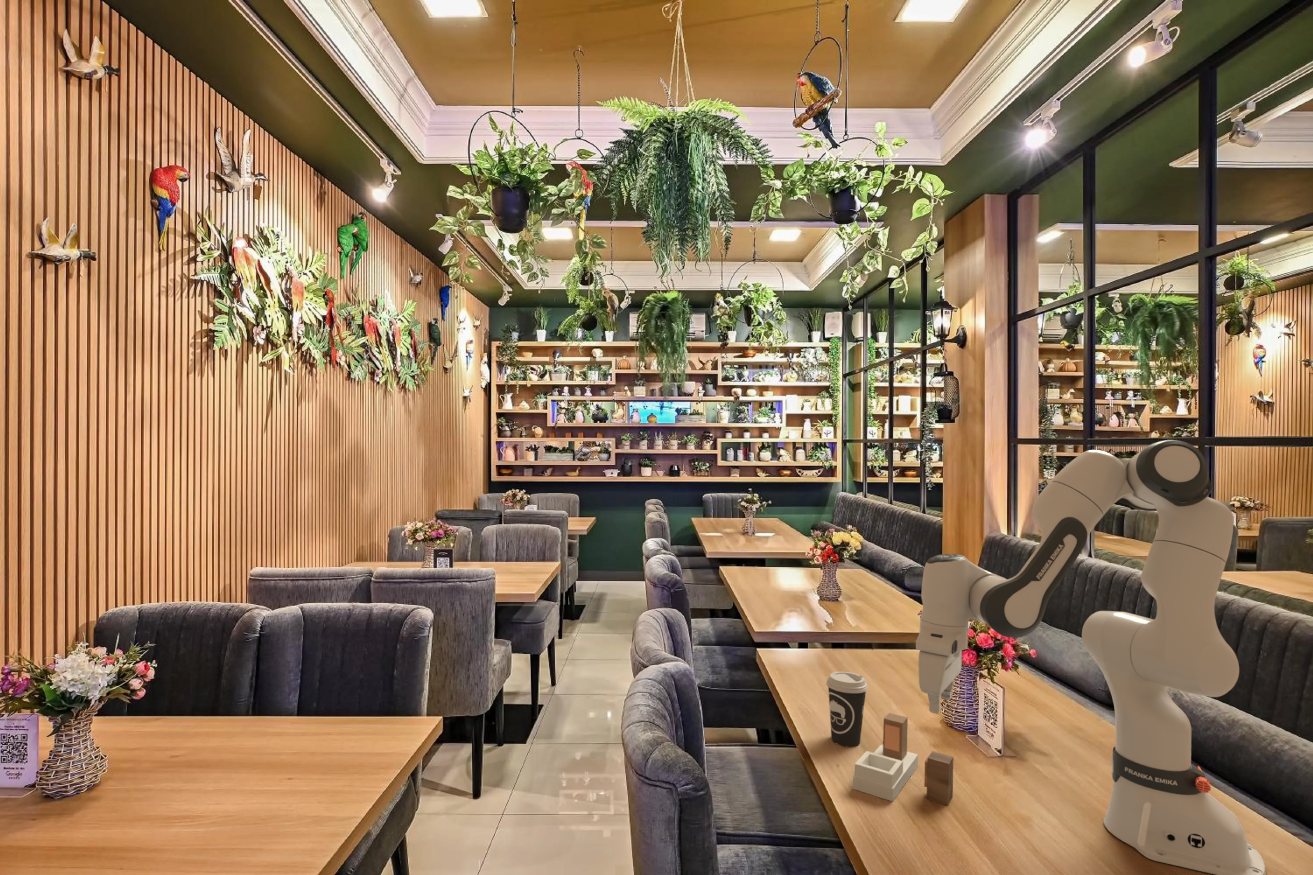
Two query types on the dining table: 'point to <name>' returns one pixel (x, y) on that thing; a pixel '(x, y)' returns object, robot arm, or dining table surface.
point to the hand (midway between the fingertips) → (940, 705)
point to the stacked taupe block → (939, 777)
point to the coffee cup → (846, 707)
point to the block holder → (886, 762)
